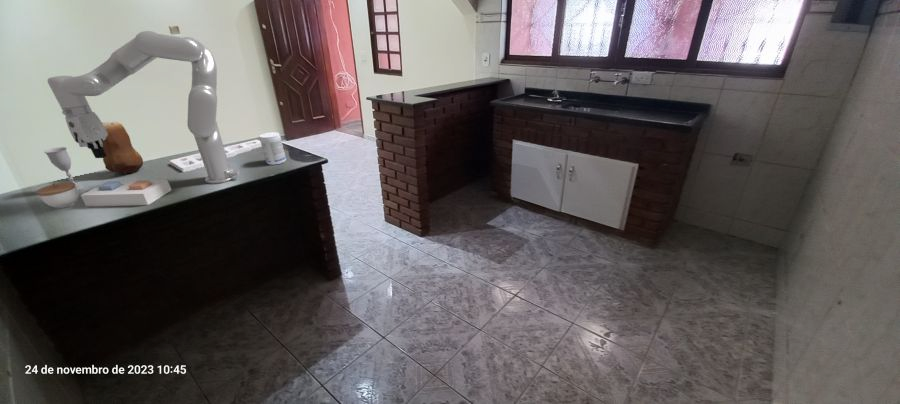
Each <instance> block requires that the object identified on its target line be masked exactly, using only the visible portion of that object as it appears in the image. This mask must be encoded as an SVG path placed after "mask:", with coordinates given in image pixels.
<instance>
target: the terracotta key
mask: <svg viewBox="0 0 900 404" xmlns="http://www.w3.org/2000/svg"><path fill="white" fill-rule="evenodd" d="M150 185H152V184H151V182H150V181H137V182H135V183H133V184H131V185H129V189H130V190H143V189H145V188H147V187H148V186H150Z"/></svg>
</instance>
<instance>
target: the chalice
mask: <svg viewBox="0 0 900 404" xmlns="http://www.w3.org/2000/svg"><path fill="white" fill-rule="evenodd" d="M43 153H44V154H45V155H46V156H47V157H48V159H49V161H50V163H51V164H52V165H53V166H55V167H56V168H58V169H59V170H60V171H61V172H65V175H66V176H67V177H68V180H69V181H70V182H73V183H75V185H76V188H77V190H78V191H79V189H80V190H82V188H83V189H84V188H85V186H83V185H82V184H81V183H80V182H75V180H74V177H72V174H71V173H70V172H69V170H71V167H72V162H71V161H72V160H71V157H70V154H69V153H68V151H67V147H65V146H64V147H61V146H60V147H53V148H47V149H46V150H44V151H43Z"/></svg>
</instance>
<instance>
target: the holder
mask: <svg viewBox="0 0 900 404" xmlns="http://www.w3.org/2000/svg"><path fill="white" fill-rule="evenodd" d="M257 148H262V145H261V142H260V139H252V140H250V141H249V140H248V141H244V142H241V143H237V144H233V145H228V146H224V149H225V153H226V156H227V159H228V158H232V157H236V156H237V155H239V154H244V153H246V152H251V151H252V150H255V149H257ZM200 159H201V160H200ZM169 164H170V165H171V166H172V167H174V168H176V169H178V170H179V171H181V172H182V173H186V171H187V172H190V171H193V170H198V169H201V167H202V168H204V167H205V166H204V163H203V160H202V158H201V155H200V152H199V153H195V154H190V155H186V156H183V157H178V158H174V159H173V158H172V159H170V160H169ZM197 168H198V169H197Z"/></svg>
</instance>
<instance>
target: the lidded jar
mask: <svg viewBox="0 0 900 404" xmlns="http://www.w3.org/2000/svg"><path fill="white" fill-rule="evenodd" d="M36 194H37V195H38V197H39V198H40V200H41V201H42V202H43V203H44V204H46V205H48V206H50V207H52V208H55V209H64V208H68V207H71V206H74V205H75V204H76V203H77V201H78V199H79V196H80V195H79V194H80V193H79V190H77V188H76V185H75V183H73V182H71V181H70V182H69V181H67V182H58V183H56V182H53V183H51V184H50V185H45V186H44V187H41V188H39V189H37V190H36Z"/></svg>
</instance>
